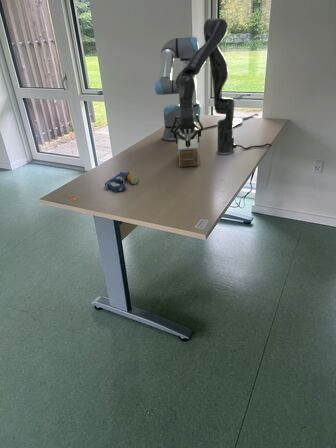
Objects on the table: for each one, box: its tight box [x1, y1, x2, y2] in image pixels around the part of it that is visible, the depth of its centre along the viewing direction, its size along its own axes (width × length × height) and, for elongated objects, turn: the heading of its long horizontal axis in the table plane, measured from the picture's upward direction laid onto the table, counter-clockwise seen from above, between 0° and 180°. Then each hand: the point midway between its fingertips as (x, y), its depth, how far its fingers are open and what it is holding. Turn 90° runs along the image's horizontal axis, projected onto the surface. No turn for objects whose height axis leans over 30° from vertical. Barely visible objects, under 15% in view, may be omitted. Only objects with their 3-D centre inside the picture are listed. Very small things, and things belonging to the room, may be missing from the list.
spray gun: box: [103, 170, 139, 193], centre depth 182 cm, size 21×4×15 cm
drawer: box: [178, 150, 199, 167], centre depth 199 cm, size 23×10×9 cm, turn 179°
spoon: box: [233, 117, 243, 128], centre depth 261 cm, size 35×11×2 cm, turn 159°
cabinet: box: [177, 137, 200, 168], centre depth 204 cm, size 18×12×11 cm, turn 179°
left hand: (187, 142), depth 205 cm, fingers open, 13 cm apart
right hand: (188, 146), depth 188 cm, fingers closed
